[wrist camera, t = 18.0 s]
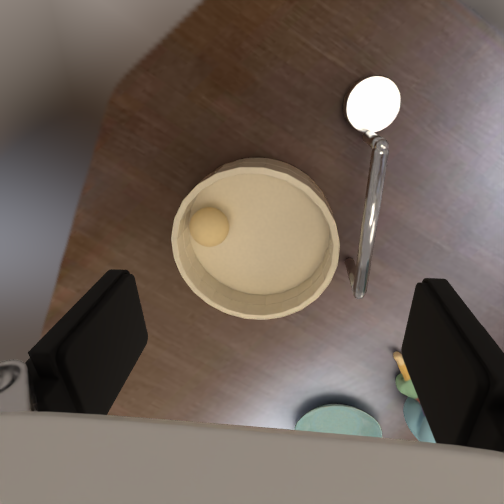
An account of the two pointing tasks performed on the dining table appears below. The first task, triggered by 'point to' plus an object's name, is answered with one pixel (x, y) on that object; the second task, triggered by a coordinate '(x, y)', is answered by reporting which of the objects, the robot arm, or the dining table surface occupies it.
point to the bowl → (259, 240)
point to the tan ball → (209, 227)
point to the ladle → (369, 122)
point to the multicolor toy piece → (412, 404)
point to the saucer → (339, 421)
